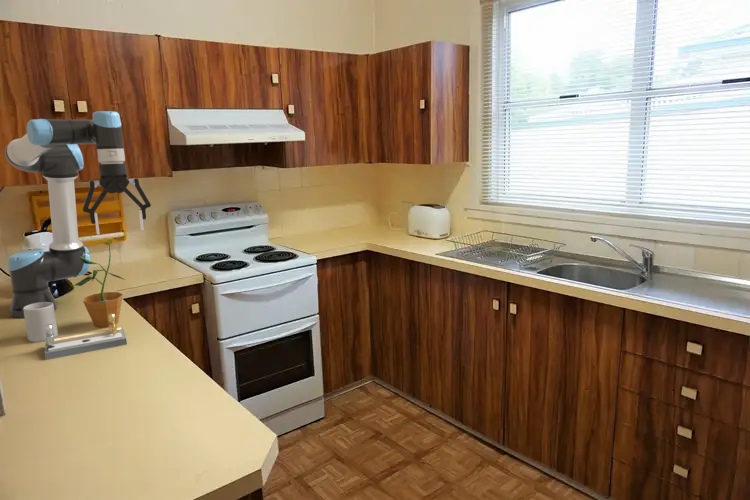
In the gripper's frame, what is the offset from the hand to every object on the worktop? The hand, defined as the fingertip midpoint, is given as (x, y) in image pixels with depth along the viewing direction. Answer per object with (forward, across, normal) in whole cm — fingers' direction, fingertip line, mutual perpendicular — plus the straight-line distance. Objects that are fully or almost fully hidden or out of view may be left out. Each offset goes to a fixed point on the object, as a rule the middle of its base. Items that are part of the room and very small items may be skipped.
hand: (120, 231), depth 170 cm
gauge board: (+35, -14, -2) cm, 37 cm away
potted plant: (+35, -7, +17) cm, 39 cm away
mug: (+35, -26, +16) cm, 46 cm away
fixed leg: (+32, -23, -2) cm, 39 cm away
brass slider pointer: (+32, -6, -2) cm, 32 cm away
